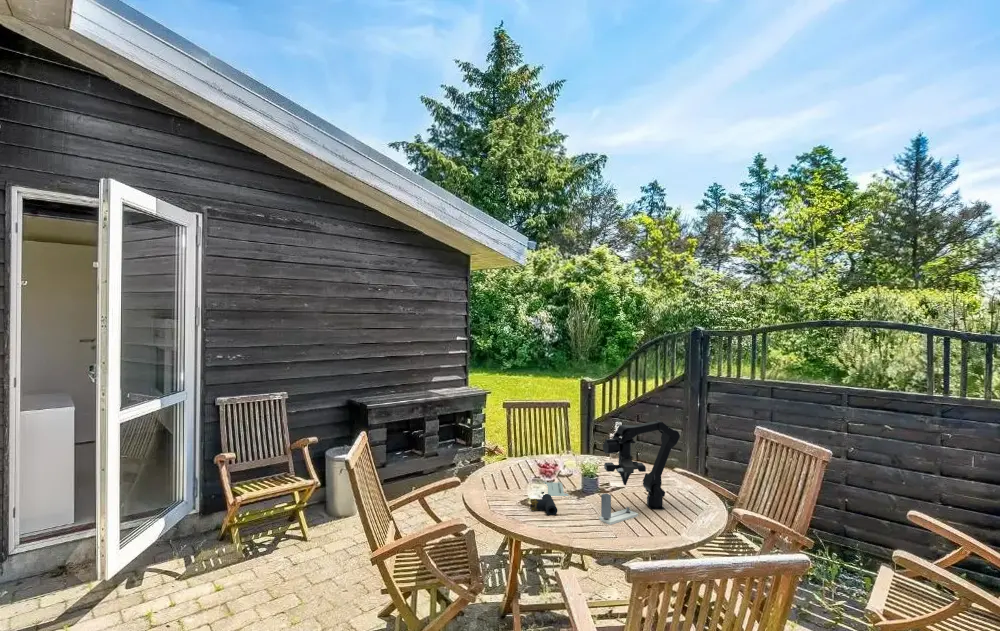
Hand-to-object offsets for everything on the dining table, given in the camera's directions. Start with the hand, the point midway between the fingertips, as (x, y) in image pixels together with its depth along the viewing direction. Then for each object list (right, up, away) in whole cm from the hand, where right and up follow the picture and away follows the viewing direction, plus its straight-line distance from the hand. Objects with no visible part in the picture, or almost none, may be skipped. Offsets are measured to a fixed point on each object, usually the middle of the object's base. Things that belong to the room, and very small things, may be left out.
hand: (624, 484), depth 233 cm
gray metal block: (-12, -10, -14) cm, 21 cm away
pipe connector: (-39, -12, 0) cm, 41 cm away
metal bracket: (-32, -13, +22) cm, 41 cm away
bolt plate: (-5, -12, -9) cm, 16 cm away
